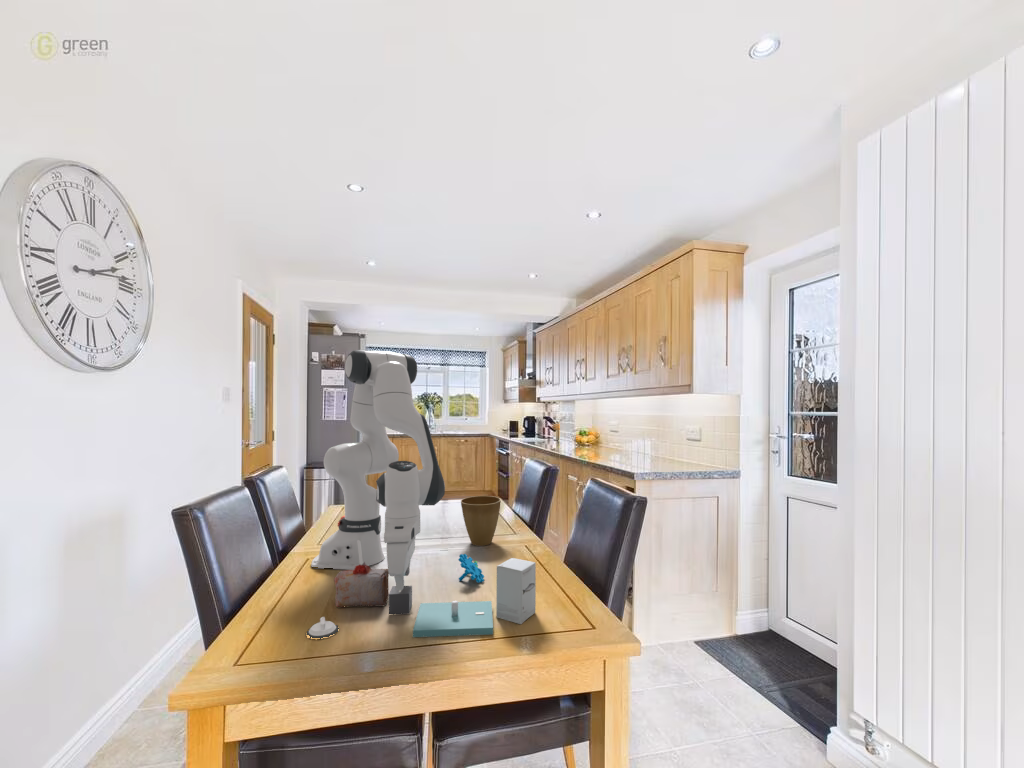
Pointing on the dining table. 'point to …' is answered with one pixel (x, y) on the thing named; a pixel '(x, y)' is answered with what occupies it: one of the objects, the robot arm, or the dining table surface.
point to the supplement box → (516, 590)
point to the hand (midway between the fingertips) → (403, 581)
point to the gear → (470, 568)
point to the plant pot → (481, 518)
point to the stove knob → (322, 629)
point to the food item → (362, 587)
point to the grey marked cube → (400, 600)
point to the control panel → (454, 619)
